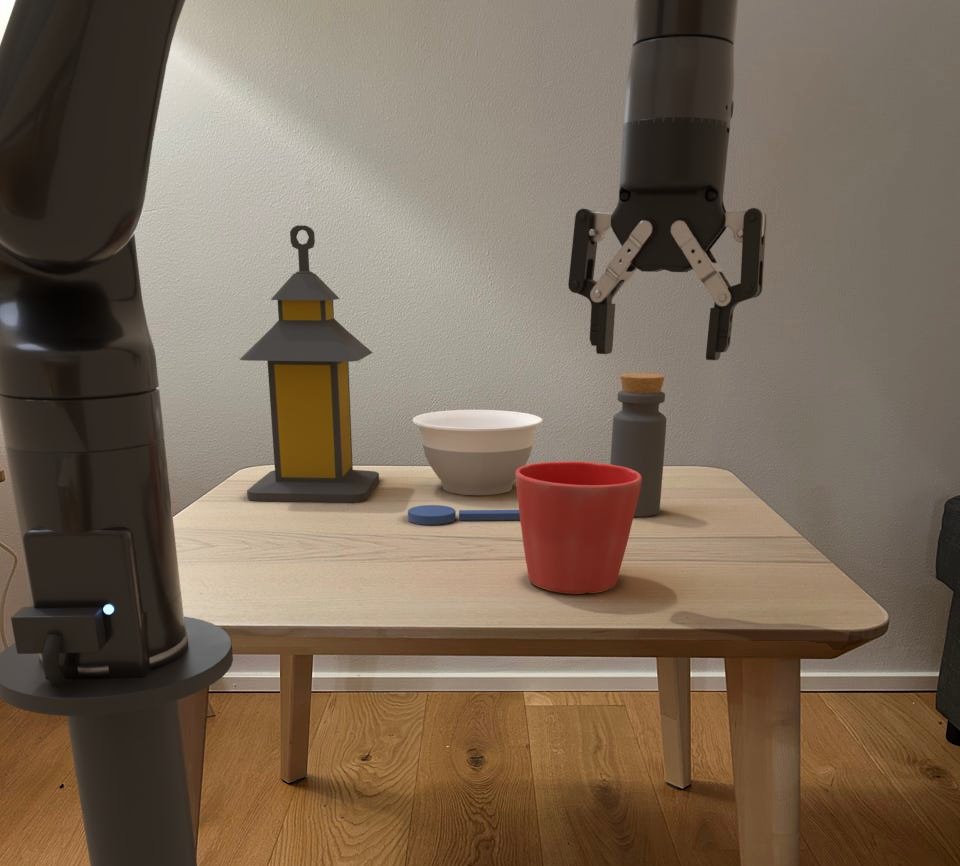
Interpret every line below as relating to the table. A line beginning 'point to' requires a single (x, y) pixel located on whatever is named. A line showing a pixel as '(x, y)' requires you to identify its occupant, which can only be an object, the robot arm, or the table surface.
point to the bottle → (641, 436)
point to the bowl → (477, 448)
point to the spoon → (448, 515)
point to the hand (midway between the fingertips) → (657, 356)
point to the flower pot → (576, 523)
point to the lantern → (310, 394)
